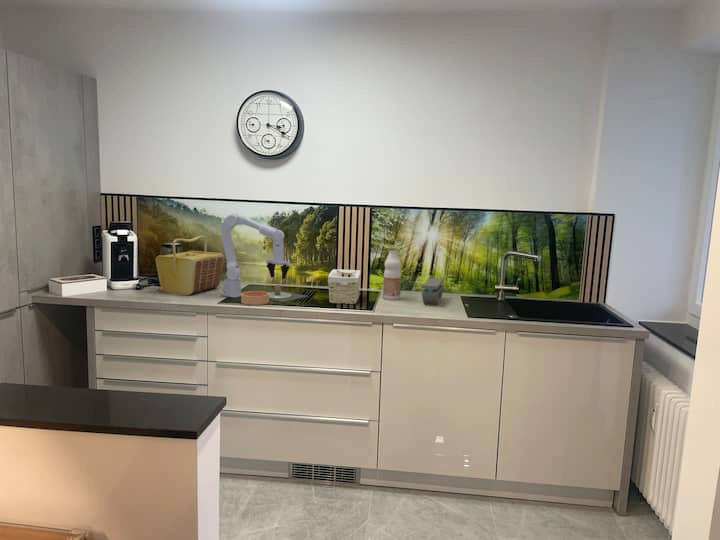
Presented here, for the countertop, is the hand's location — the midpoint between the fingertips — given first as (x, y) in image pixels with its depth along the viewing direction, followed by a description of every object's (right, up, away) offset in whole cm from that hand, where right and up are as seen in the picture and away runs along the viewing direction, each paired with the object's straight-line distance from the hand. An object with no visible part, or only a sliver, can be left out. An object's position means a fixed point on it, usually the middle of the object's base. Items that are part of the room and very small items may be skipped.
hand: (278, 278), depth 310 cm
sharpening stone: (+83, -13, +1) cm, 84 cm away
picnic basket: (-50, -7, +13) cm, 52 cm away
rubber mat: (+1, -10, +2) cm, 11 cm away
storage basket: (+36, -12, 0) cm, 37 cm away
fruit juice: (+61, -12, +6) cm, 63 cm away
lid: (0, -10, +1) cm, 10 cm away
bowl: (-10, -12, -14) cm, 21 cm away
